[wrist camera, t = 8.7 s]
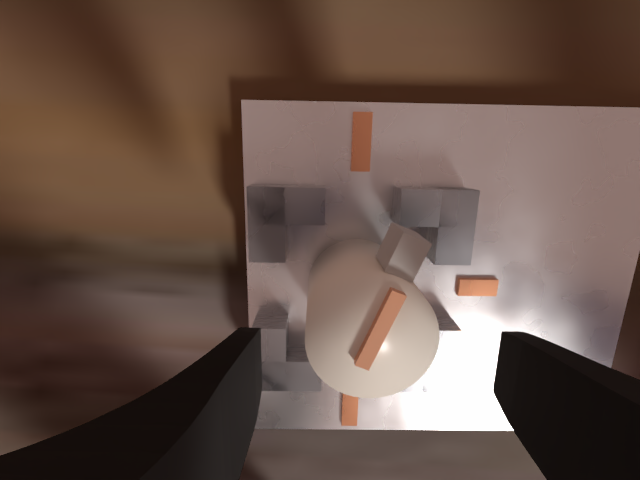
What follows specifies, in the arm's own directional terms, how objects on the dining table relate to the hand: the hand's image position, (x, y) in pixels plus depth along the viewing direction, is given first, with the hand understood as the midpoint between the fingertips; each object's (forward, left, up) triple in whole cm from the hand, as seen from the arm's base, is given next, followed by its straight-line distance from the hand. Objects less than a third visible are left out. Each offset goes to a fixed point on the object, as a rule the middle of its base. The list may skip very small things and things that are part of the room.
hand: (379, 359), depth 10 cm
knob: (0, 0, -6) cm, 6 cm away
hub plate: (0, -4, -7) cm, 8 cm away
